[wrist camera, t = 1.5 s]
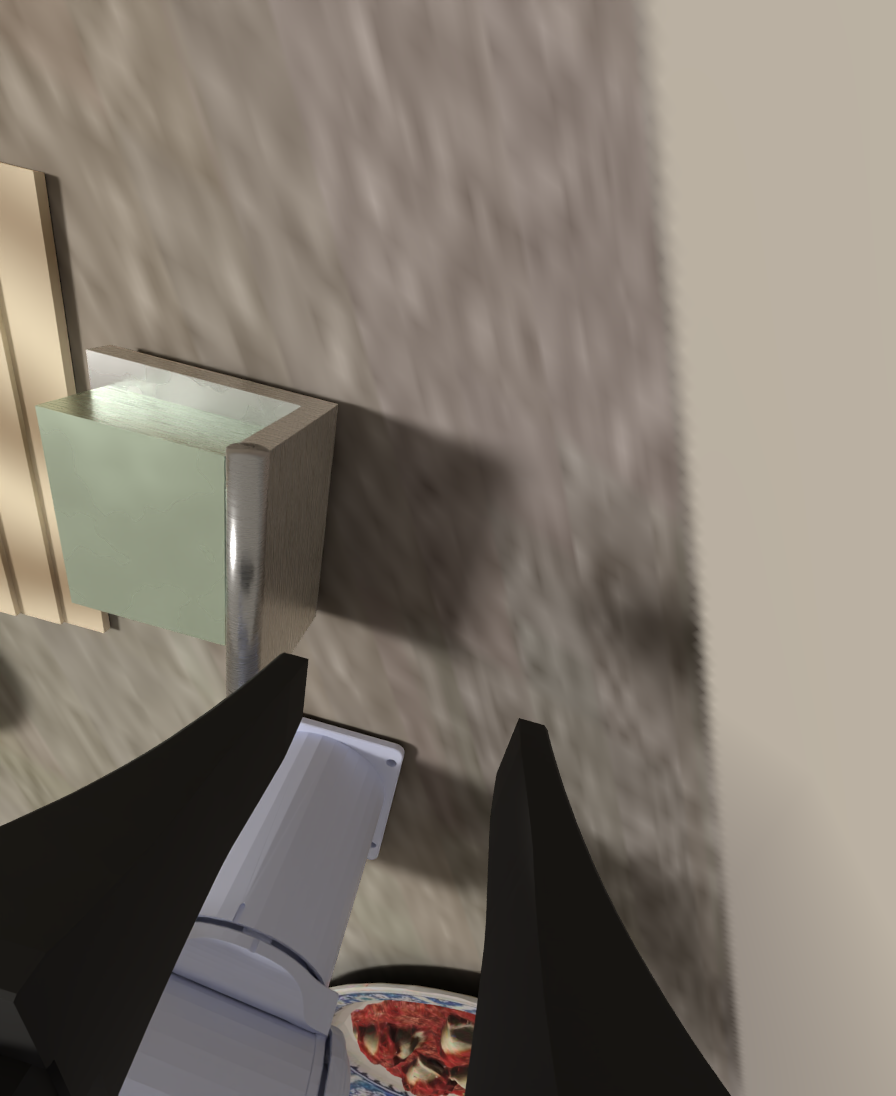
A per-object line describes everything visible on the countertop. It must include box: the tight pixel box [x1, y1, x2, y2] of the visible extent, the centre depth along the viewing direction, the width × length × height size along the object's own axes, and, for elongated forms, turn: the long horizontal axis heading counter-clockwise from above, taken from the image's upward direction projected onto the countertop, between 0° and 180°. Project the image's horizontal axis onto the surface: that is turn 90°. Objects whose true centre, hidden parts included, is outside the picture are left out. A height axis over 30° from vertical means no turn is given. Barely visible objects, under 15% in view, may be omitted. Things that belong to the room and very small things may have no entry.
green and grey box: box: [35, 345, 338, 698], centre depth 17 cm, size 9×8×6 cm
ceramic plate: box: [329, 983, 478, 1096], centre depth 40 cm, size 26×26×3 cm
